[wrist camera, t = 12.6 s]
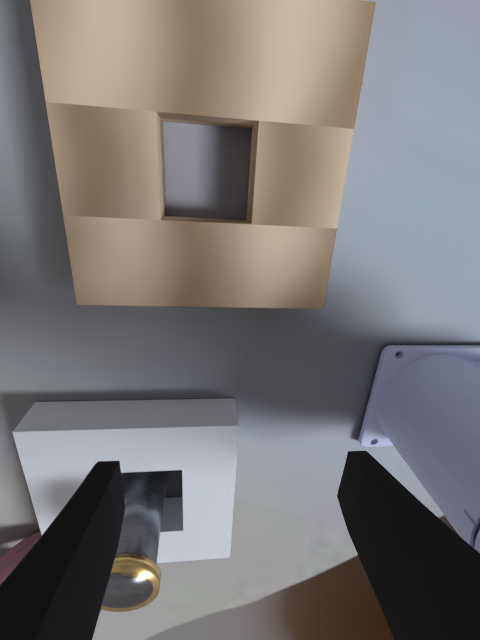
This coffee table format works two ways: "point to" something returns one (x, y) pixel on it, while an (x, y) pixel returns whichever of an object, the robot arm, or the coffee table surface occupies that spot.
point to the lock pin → (137, 543)
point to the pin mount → (207, 109)
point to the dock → (140, 461)
